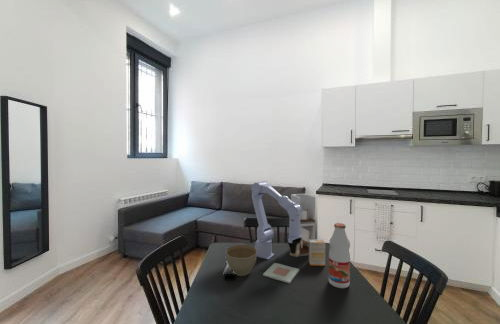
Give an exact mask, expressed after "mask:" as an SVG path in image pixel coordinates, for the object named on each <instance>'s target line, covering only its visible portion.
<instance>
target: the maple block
mask: <svg viewBox="0 0 500 324" xmlns="http://www.w3.org/2000/svg"><path fill="white" fill-rule="evenodd" d="M299 247H300V243H297V246H296V252H295V254H293V253H291V251H290V250H289V256H292V257H297V258H298V257H299V256H298V255H299Z"/></svg>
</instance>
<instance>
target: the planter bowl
mask: <svg viewBox="0 0 500 324" xmlns="http://www.w3.org/2000/svg"><path fill="white" fill-rule="evenodd" d="M256 256H257V250H256V249H255V246H251V245H248V244H236V245H232V246H229V247H228V248H227V249H226V250H225V257H226V263H227V264H228V267H229V268H230V270H231V269H232V270H233V271H234V272H235V273H236V274H237V275H236V276H239V277H243V276H247V275H249V274H250V273H251V271H252V269H253V268H254V266H255V264H256V262H257V261H256V260H257V257H256ZM232 270H231V271H232Z"/></svg>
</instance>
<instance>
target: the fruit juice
mask: <svg viewBox="0 0 500 324" xmlns="http://www.w3.org/2000/svg"><path fill="white" fill-rule="evenodd" d="M333 226H334V230H333V233H332V235H331V237H330V238H329V251H328V282H329V285H331V286H333V287H335V288H337V289H346V288H348V287H350V284H351V283H350V282H351V280H350V279H351V252H350V248H351V241H350V240H349V238H348V235H347V233H346V228H347V227H346V224H345V223H341V222H336V223H334V225H333Z"/></svg>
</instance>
